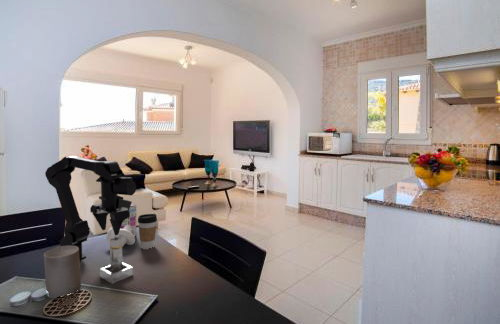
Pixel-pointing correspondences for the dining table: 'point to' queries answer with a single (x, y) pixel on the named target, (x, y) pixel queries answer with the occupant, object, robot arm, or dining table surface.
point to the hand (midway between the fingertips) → (110, 232)
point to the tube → (115, 254)
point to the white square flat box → (116, 273)
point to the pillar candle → (62, 270)
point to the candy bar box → (130, 219)
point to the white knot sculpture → (122, 235)
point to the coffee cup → (147, 230)
